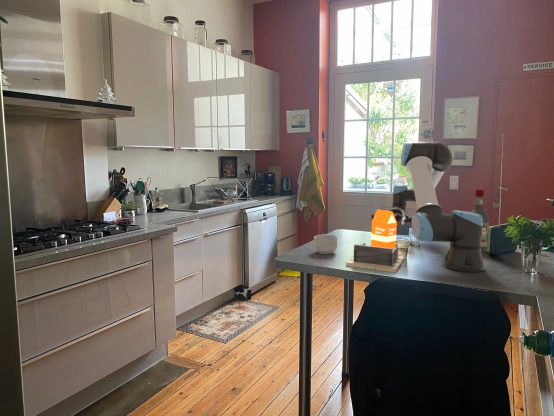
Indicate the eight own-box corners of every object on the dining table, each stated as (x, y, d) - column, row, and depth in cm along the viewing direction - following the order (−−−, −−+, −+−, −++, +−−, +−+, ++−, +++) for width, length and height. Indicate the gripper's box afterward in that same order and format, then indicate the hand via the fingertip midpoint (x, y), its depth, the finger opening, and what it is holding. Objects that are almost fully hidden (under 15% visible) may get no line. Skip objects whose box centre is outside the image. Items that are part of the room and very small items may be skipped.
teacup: (335, 256, 184) (336, 239, 183) (312, 255, 186) (312, 237, 185) (337, 249, 197) (338, 233, 196) (315, 248, 199) (315, 232, 198)
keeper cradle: (395, 272, 159) (396, 251, 158) (346, 265, 168) (346, 245, 167) (404, 259, 179) (405, 241, 178) (359, 254, 188) (360, 236, 187)
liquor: (460, 248, 204) (465, 188, 200) (476, 247, 206) (480, 188, 202) (474, 252, 195) (479, 190, 191) (489, 251, 197) (495, 190, 193)
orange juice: (380, 249, 199) (382, 208, 197) (395, 252, 193) (397, 210, 190) (370, 251, 194) (372, 210, 192) (385, 255, 188) (387, 212, 185)
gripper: (419, 223, 216) (414, 230, 197) (372, 219, 226) (363, 225, 207) (420, 209, 215) (415, 215, 196) (373, 206, 225) (363, 211, 206)
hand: (388, 220), depth 201 cm, fingers open, 13 cm apart
